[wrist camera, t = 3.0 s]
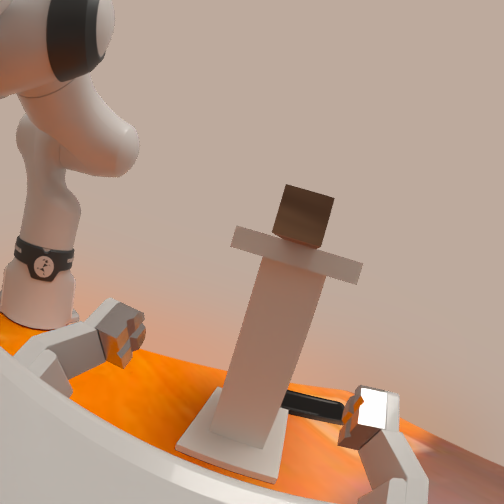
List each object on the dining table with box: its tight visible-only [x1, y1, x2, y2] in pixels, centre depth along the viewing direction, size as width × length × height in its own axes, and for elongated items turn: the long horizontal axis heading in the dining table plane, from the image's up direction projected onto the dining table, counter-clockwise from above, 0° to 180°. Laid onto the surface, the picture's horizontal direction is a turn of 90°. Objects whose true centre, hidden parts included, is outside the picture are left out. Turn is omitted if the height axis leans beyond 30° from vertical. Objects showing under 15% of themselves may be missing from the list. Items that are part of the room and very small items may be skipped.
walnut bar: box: [272, 184, 334, 249], centre depth 32 cm, size 26×3×3 cm, turn 168°
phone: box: [280, 390, 345, 425], centre depth 51 cm, size 8×1×15 cm
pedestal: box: [175, 226, 363, 484], centre depth 38 cm, size 18×12×26 cm, turn 168°
